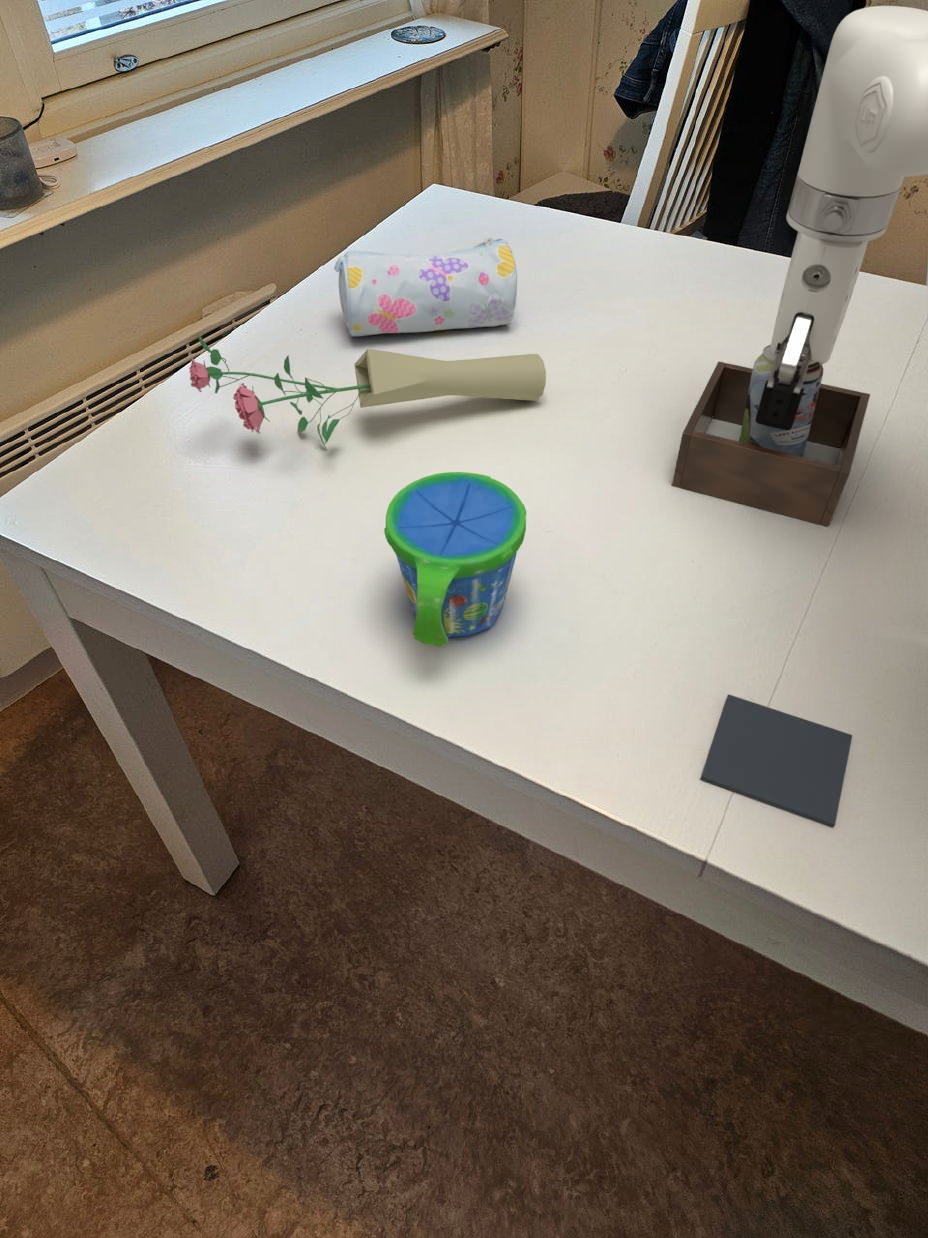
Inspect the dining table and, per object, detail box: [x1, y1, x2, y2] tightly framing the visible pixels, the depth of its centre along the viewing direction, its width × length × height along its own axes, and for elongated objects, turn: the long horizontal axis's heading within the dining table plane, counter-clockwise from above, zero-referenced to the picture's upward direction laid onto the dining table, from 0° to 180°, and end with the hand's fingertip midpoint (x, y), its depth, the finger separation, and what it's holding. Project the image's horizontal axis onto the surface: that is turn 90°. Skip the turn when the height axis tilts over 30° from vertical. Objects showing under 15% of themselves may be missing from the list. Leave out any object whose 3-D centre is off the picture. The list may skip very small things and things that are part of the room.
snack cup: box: [383, 471, 527, 647], centre depth 68 cm, size 16×10×10 cm
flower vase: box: [188, 333, 547, 451], centre depth 87 cm, size 12×12×35 cm
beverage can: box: [738, 343, 824, 457], centre depth 81 cm, size 6×7×12 cm
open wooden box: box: [671, 361, 871, 527], centre depth 83 cm, size 15×14×6 cm
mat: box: [700, 693, 853, 828], centre depth 62 cm, size 9×8×1 cm
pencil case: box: [333, 237, 518, 337], centre depth 101 cm, size 21×9×10 cm, turn 101°
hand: (782, 400), depth 80 cm, fingers open, 7 cm apart
